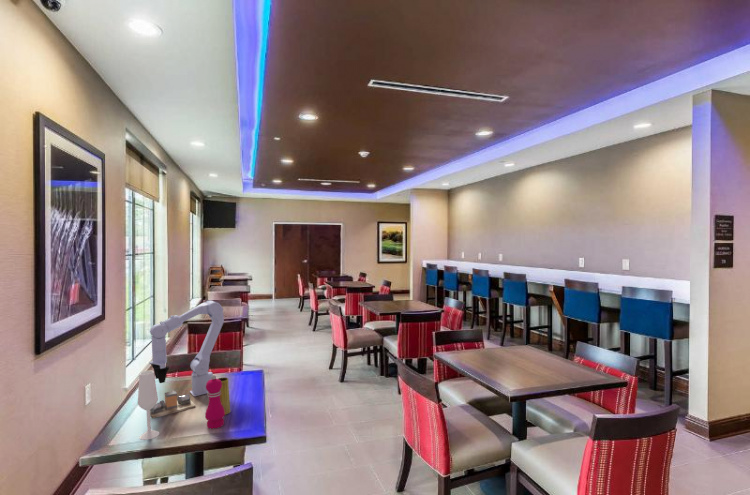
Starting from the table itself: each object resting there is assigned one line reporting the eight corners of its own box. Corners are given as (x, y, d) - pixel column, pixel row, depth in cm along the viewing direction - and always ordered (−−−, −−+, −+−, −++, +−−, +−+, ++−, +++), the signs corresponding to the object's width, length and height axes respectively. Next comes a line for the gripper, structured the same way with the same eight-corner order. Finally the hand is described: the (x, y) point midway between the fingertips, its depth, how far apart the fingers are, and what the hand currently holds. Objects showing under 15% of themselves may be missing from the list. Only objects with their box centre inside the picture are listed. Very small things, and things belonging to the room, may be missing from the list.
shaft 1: (161, 410, 179) (161, 399, 179) (165, 412, 177) (165, 401, 177) (150, 414, 175) (149, 403, 175) (154, 416, 173) (153, 405, 173)
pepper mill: (213, 431, 158) (211, 379, 158) (201, 426, 162) (199, 376, 162) (229, 423, 165) (227, 373, 164) (217, 419, 168) (215, 371, 168)
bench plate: (189, 399, 190) (189, 397, 190) (195, 407, 182) (195, 405, 181) (147, 409, 180) (147, 407, 180) (152, 418, 171) (152, 416, 171)
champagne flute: (163, 431, 159) (160, 370, 158) (150, 440, 152) (147, 375, 152) (148, 430, 160) (145, 369, 160) (134, 438, 154) (132, 375, 153)
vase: (216, 417, 171) (214, 383, 170) (214, 411, 176) (213, 378, 176) (231, 413, 174) (230, 380, 173) (229, 408, 179) (228, 376, 179)
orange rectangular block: (175, 403, 183) (174, 390, 183) (177, 406, 180) (176, 393, 180) (165, 406, 181) (164, 392, 181) (166, 409, 178) (166, 395, 178)
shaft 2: (188, 402, 187) (188, 392, 187) (190, 405, 184) (190, 394, 184) (177, 405, 184) (177, 394, 184) (179, 408, 181) (178, 397, 181)
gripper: (146, 349, 191) (147, 378, 192) (152, 355, 180) (153, 386, 180) (163, 346, 196) (164, 374, 196) (170, 352, 184) (171, 383, 184)
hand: (160, 380), depth 188 cm, fingers open, 7 cm apart
